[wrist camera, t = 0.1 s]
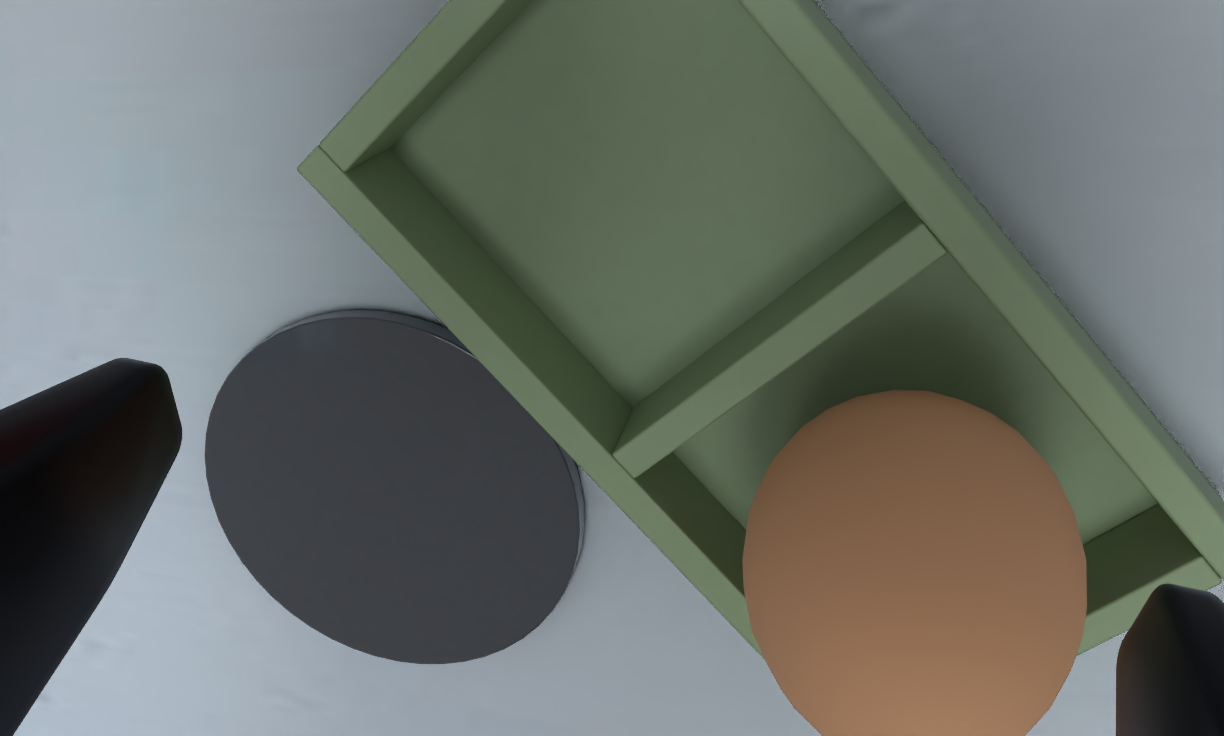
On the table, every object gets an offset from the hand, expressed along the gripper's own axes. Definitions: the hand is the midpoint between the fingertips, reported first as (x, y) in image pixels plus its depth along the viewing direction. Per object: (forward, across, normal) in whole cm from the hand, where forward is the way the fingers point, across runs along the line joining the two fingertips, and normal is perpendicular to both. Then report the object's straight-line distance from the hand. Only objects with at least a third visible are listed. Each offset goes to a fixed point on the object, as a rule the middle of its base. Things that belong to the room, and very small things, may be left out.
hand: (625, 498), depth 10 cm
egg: (+13, -5, +10) cm, 17 cm away
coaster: (+12, +8, +15) cm, 21 cm away
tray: (+14, -1, +8) cm, 16 cm away
